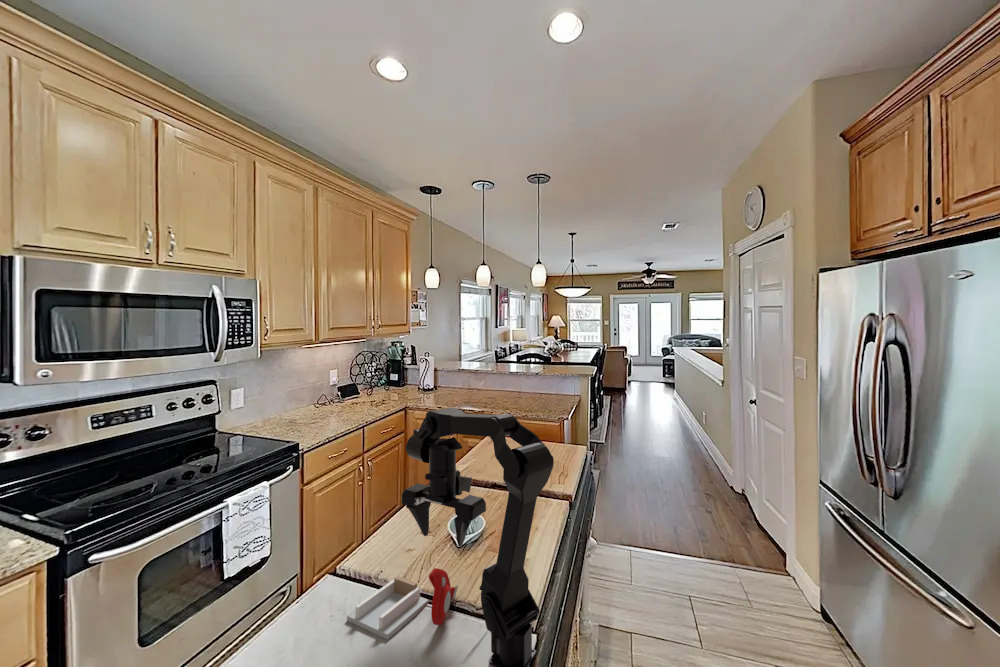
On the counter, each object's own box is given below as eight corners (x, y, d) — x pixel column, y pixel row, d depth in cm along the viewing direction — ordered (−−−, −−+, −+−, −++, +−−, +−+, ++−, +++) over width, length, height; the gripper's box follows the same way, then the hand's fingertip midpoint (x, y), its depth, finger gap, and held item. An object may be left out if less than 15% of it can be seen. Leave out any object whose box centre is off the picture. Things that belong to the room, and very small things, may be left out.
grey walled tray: (428, 604, 91) (428, 585, 91) (387, 639, 80) (387, 618, 80) (389, 589, 96) (389, 571, 96) (346, 620, 86) (346, 600, 86)
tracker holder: (441, 638, 81) (440, 585, 81) (419, 634, 82) (419, 582, 82) (461, 599, 93) (461, 553, 92) (442, 596, 94) (442, 550, 94)
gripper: (498, 464, 94) (499, 534, 94) (431, 452, 104) (432, 517, 104) (470, 479, 85) (471, 558, 85) (399, 465, 94) (400, 536, 94)
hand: (442, 540), depth 92 cm, fingers open, 9 cm apart
